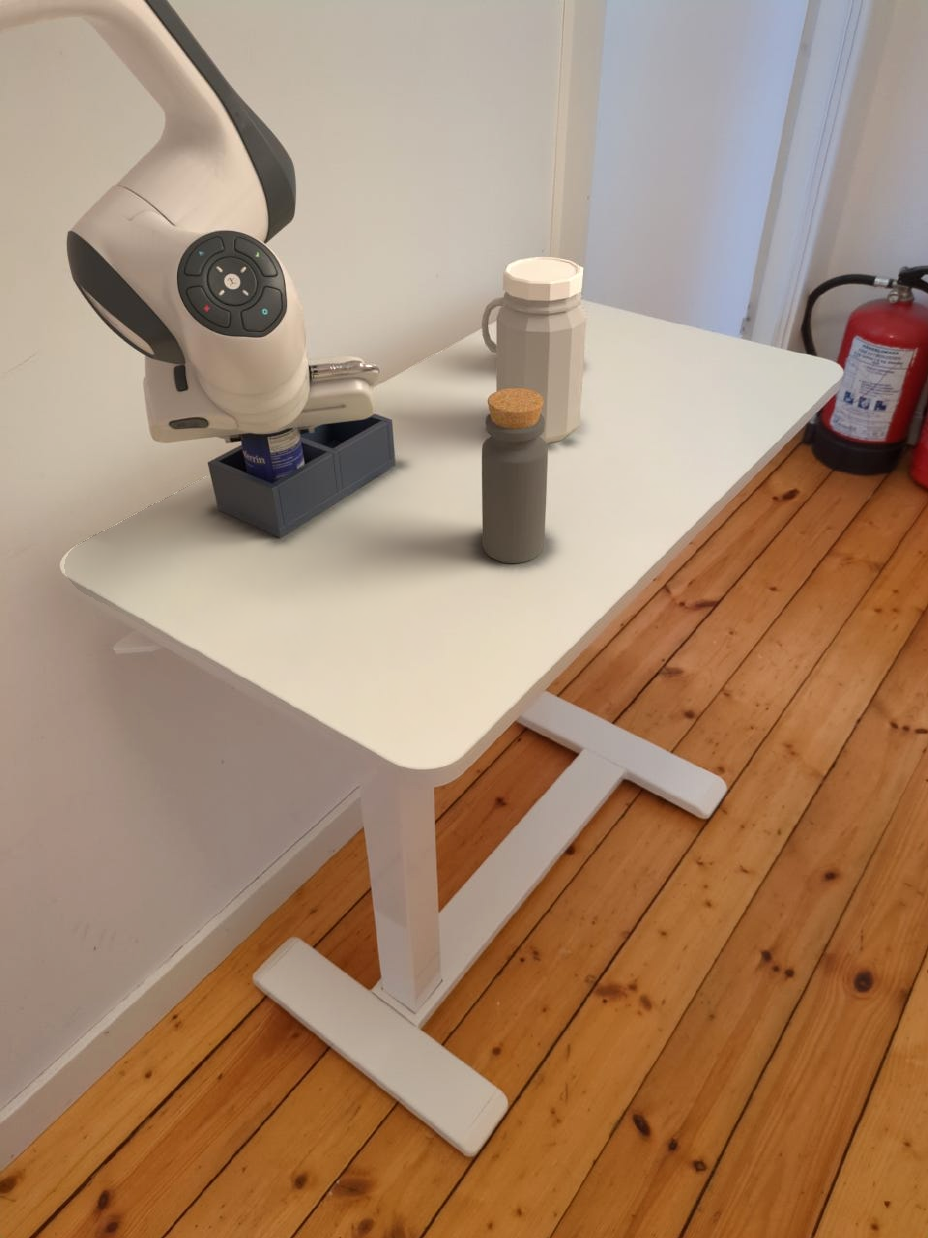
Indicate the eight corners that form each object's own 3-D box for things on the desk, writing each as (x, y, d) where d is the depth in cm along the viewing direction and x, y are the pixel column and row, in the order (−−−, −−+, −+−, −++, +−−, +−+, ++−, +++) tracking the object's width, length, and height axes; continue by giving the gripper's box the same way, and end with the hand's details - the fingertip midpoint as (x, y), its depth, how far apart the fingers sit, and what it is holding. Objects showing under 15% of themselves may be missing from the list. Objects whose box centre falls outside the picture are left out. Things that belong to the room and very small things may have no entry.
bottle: (521, 571, 82) (524, 421, 72) (470, 550, 85) (467, 402, 75) (556, 542, 85) (563, 395, 76) (505, 522, 88) (507, 378, 79)
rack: (280, 538, 87) (271, 489, 84) (217, 510, 91) (207, 462, 88) (395, 465, 98) (392, 419, 94) (334, 443, 102) (329, 398, 99)
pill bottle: (239, 480, 91) (220, 388, 84) (287, 461, 93) (272, 371, 87) (268, 502, 87) (250, 407, 81) (317, 482, 90) (304, 389, 84)
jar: (532, 456, 99) (537, 291, 87) (479, 424, 105) (477, 266, 94) (598, 430, 103) (610, 270, 92) (543, 401, 109) (548, 248, 98)
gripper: (374, 326, 76) (369, 387, 89) (124, 352, 73) (158, 411, 86) (386, 397, 75) (379, 448, 89) (134, 426, 72) (167, 474, 86)
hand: (269, 430), depth 87 cm, fingers closed on pill bottle, 6 cm apart
